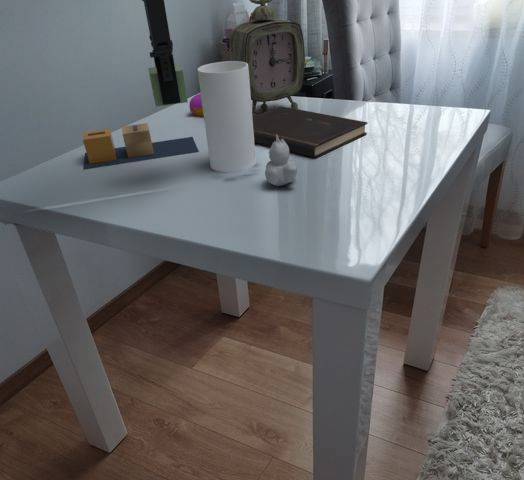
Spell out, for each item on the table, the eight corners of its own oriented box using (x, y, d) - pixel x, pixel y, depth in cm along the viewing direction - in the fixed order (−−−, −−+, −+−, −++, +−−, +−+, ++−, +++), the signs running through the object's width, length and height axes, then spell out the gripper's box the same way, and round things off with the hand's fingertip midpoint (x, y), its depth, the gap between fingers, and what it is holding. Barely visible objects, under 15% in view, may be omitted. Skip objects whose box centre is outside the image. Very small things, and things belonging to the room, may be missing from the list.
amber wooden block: (89, 164, 96) (82, 139, 93) (90, 155, 100) (83, 131, 97) (116, 159, 97) (109, 135, 94) (115, 151, 101) (109, 127, 98)
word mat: (83, 172, 95) (82, 169, 94) (85, 155, 102) (84, 152, 102) (199, 154, 98) (199, 151, 97) (192, 139, 105) (192, 136, 105)
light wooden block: (128, 158, 97) (122, 133, 94) (127, 150, 101) (121, 126, 98) (154, 154, 98) (148, 129, 95) (152, 146, 102) (147, 122, 99)
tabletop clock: (249, 123, 110) (237, -17, 94) (231, 114, 117) (217, -19, 101) (305, 110, 115) (303, -26, 99) (285, 102, 121) (280, -27, 105)
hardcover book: (281, 117, 112) (280, 106, 111) (366, 134, 99) (367, 122, 98) (228, 137, 104) (227, 125, 103) (314, 159, 91) (314, 146, 90)
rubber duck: (282, 175, 86) (280, 126, 81) (308, 185, 82) (307, 134, 77) (257, 184, 84) (253, 134, 79) (283, 195, 80) (280, 143, 75)
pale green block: (155, 106, 78) (149, 73, 75) (154, 98, 82) (147, 67, 79) (187, 102, 79) (182, 69, 76) (184, 94, 83) (179, 63, 80)
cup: (255, 173, 88) (247, 70, 78) (208, 175, 88) (194, 74, 78) (256, 156, 94) (249, 59, 84) (213, 159, 95) (200, 63, 84)
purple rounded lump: (214, 104, 124) (212, 84, 121) (243, 110, 119) (241, 89, 116) (182, 115, 119) (179, 94, 116) (211, 122, 113) (208, 100, 110)
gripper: (170, -103, 59) (200, 110, 74) (160, -95, 73) (187, 83, 88) (105, -97, 58) (149, 117, 73) (108, -90, 72) (144, 89, 87)
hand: (170, 98), depth 80 cm, fingers closed on pale green block, 5 cm apart
